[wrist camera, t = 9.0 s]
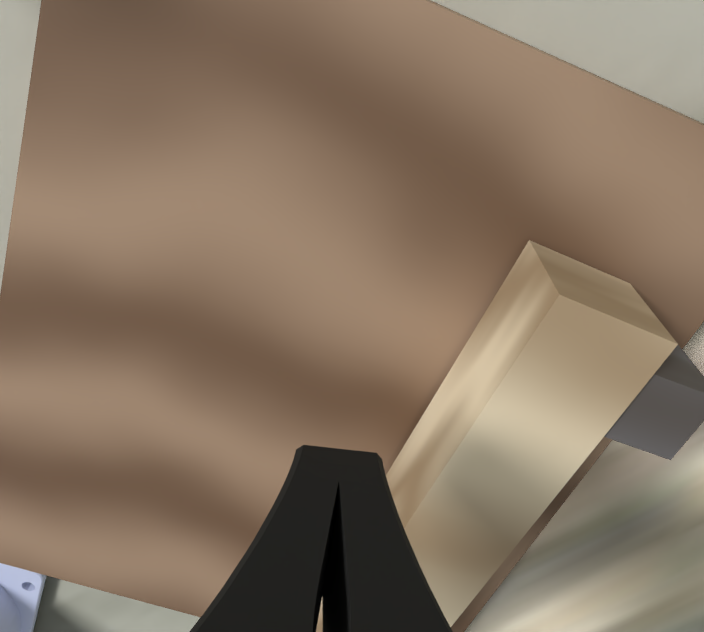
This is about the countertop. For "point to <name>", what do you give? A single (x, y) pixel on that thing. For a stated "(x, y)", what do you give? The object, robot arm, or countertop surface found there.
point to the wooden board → (295, 261)
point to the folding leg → (519, 416)
